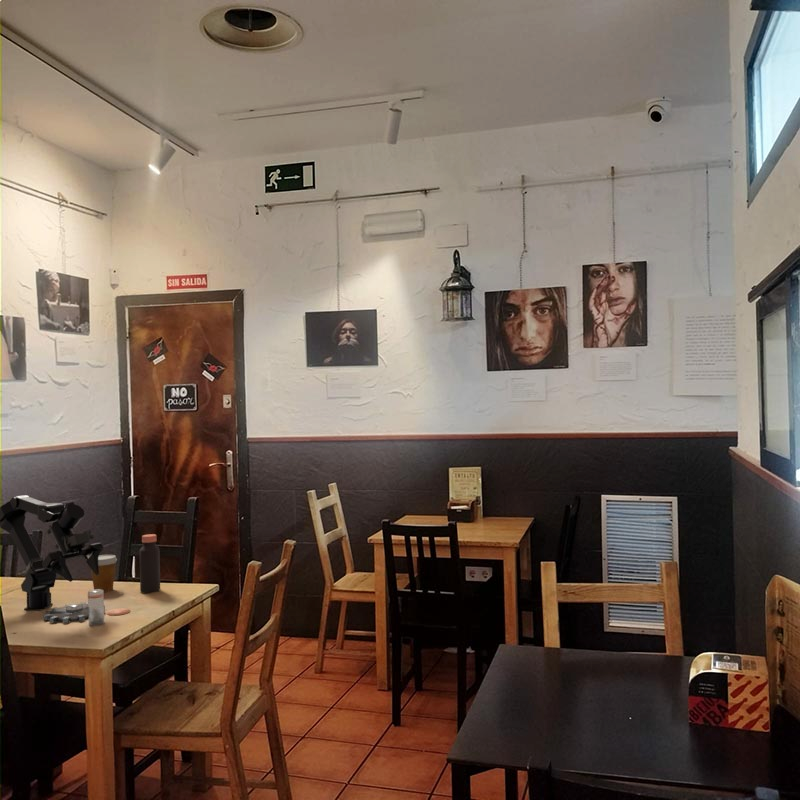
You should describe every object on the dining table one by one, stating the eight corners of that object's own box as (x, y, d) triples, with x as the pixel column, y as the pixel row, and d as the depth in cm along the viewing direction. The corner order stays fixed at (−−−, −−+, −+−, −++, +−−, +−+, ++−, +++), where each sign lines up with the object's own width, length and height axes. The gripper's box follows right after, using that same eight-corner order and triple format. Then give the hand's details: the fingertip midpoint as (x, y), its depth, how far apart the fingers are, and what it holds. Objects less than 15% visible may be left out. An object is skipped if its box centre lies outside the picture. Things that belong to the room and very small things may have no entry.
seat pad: (103, 615, 230) (103, 614, 230) (112, 609, 237) (112, 608, 237) (124, 615, 230) (124, 614, 230) (133, 609, 237) (133, 608, 237)
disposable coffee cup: (111, 593, 257) (110, 559, 257) (84, 594, 257) (84, 560, 257) (121, 586, 267) (121, 554, 267) (95, 587, 267) (95, 554, 267)
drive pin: (85, 626, 219) (85, 593, 219) (92, 621, 224) (91, 589, 224) (100, 625, 219) (99, 592, 219) (106, 621, 224) (106, 589, 224)
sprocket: (30, 622, 224) (30, 612, 224) (67, 606, 242) (67, 597, 242) (82, 624, 221) (82, 614, 221) (116, 607, 239) (116, 598, 239)
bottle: (139, 594, 255) (138, 537, 255) (140, 589, 262) (139, 534, 262) (159, 592, 257) (158, 536, 257) (160, 587, 264) (159, 533, 264)
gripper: (48, 527, 221) (69, 569, 216) (102, 518, 237) (122, 557, 232) (32, 547, 226) (52, 590, 221) (86, 537, 242) (106, 576, 237)
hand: (84, 577), depth 227 cm, fingers open, 9 cm apart
